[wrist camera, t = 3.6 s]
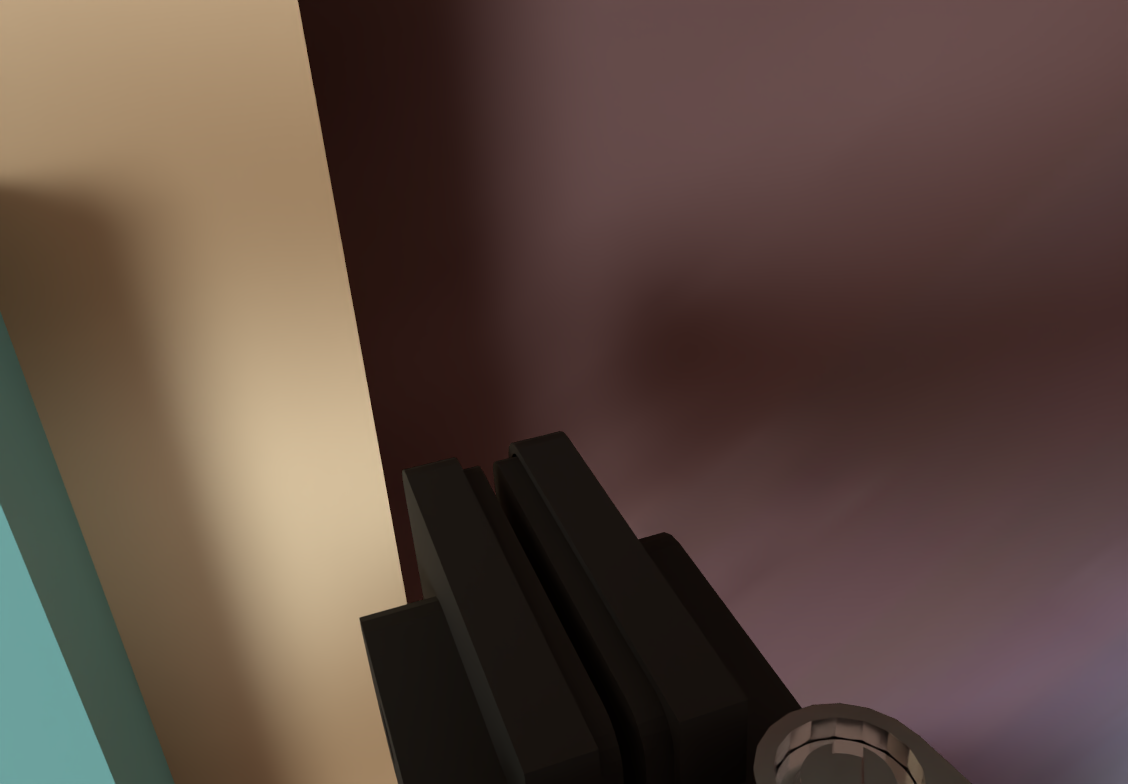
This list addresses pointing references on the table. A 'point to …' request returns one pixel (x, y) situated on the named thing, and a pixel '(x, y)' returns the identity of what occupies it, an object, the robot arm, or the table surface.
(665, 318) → the table surface
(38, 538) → the teal flat block
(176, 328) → the deck
